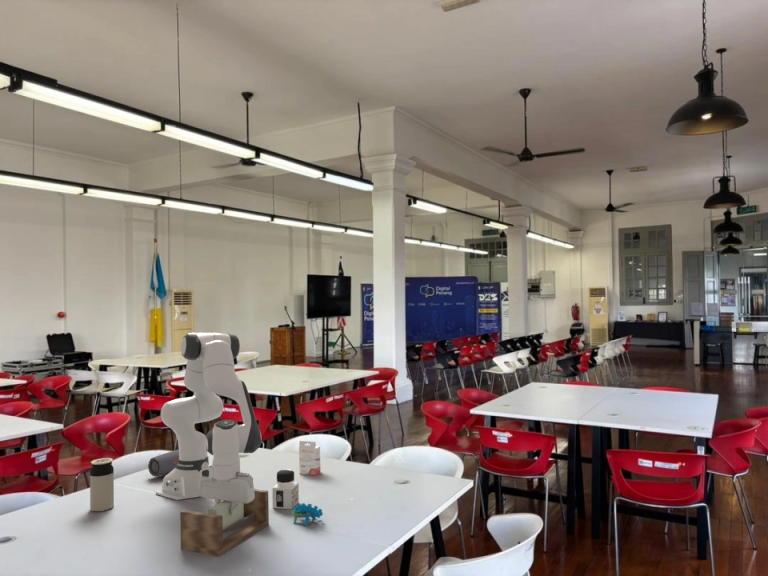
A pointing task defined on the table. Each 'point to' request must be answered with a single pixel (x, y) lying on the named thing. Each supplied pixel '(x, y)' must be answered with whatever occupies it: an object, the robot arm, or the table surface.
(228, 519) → the door panel
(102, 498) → the travel mug
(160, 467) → the bluetooth speaker
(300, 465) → the ink cartridge box
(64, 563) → the table surface
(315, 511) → the gear
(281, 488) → the container
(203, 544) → the cabinet base
